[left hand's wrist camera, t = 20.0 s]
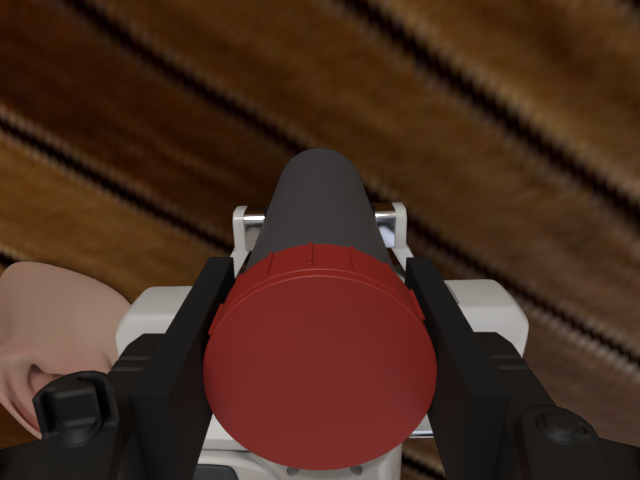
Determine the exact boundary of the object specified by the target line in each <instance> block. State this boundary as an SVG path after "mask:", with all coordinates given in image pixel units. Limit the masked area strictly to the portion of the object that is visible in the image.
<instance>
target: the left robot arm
mask: <svg viewBox="0 0 640 480" xmlns="http://www.w3.org/2000/svg"><path fill="white" fill-rule="evenodd" d="M404 283H405V285H406V286H407V288H408V289H409V290H411V289H412V290H413V292H414V294H415V296H416V298H417V301H418V303H419V306H420V308H421V310H422V313H423V315H424V317H425V319H424V320H423V322H424V324H425V327H426V329H427V332H428V334H429V336H430V339H431V341H432V344H433V348H434V351H435V354H436V361H437V377H436V386H435V394H434V397H433V400H432V403H431V406H430V408H429V410H428V412H427V416H428V419H429V423H430V426H431V429H432V432H433V435H434V439H435V442H436V445H437V448H438V452H439V455H440V458H441V461H442V464H443V468H444V471H445V474H446V477H447V480H640V447H636V446H632V445H628V444H623V443H619V442H614V441H610V440H607V439H603V438H600V437H598V435H597V433H596V432H595V430H594V429H593V427H592V426H591V425H590V424H589V423H588V422H587V421H585V420H584V419H583V418H582V417H581V416H579V415H577V414H575V413H573V412H571V411H569V410H567V409H564V408H561V407H557V406H556V405H555V403H554V402H553V400H552V399H551V398H550V396H549V395H548V393H547V392H546V390H545V389H544V388H543V386H542V385H541V383H540V382H539V381H538V379H537V378H536V376H535V375H534V373H533V372H532V371H531V370H529V366H528V365H527V364H526V362H525V361H524V359H522V358H521V355H520V354H519V352H518V351H517V349H516V348H515V347H514V345H513V344H512V343H511V342H510V341H508V340H507V339H506V338H504V337H503V336H501V335H500V334H499V333H497V332H474V331H473V329H472V328H471V326H470V324H469V322H468V321H467V319H466V317H465V316H464V314H463V312H462V311H461V309H460V307H459V306H458V304H457V302H456V300H455V299H454V297H453V295H452V294H451V292H450V290H449V289H448V287H447V285H446V284H445V282H444V280H443V278H442V277H441V275H440V273H439V272H438V270H437V268H436V267H435V265H434V263H433V261H432V260H431V258H430V257H406V268H405V282H404ZM234 284H235V272H234V258H233V257H210V258H209V259H208V261H207V263H206V264H205V266H204V268H203V269H202V271H201V273H200V275H199V276H198V278H197V280H196V281H195V283H194V285H193V286H192V288H191V290H190V292H189V293H188V295H187V297H186V298H185V300H184V302H183V303H182V305H181V307H180V308H179V310H178V312H177V314H176V315H175V317H174V319H173V320H172V322H171V324H170V325H169V327H168V329H167V330H166V332H165V333H143V334H142V335H141V336H139V337H138V338H136V339H135V340H134V341H132V342H131V343H129V344H128V345H127V346H126V348H125V349H124V351H123V352H122V354H121V355H120V356H119V360H117V361H116V362H115V364H114V365H113V366H112V368H111V371H109V372H108V374H106V373H104V372H99V371H95V370H90V371H78V372H74V373H71V374H67V375H64V376H62V377H59V378H57V379H55V380H53V381H51V382H49V383H48V384H47V385H45V386H44V387H43V388H41V389H40V390H39V391H38V392H37V393H36V395H35V396H34V397H33V399H32V403H33V406H34V410H35V414H36V417H37V421H38V424H39V428H40V432H41V435H42V437H41V439H39V440H36V441H33V442H29V443H25V444H21V445H16V446H12V447H8V448H3V449H0V480H193V476H194V473H195V470H196V467H197V464H198V460H199V457H200V454H201V451H202V447H203V444H204V441H205V438H206V435H207V431H208V428H209V425H210V422H211V419H212V415H213V412H212V410H211V409H210V406H209V403H208V401H207V398H206V395H205V389H204V380H203V358H204V354H205V350H206V346H207V343H208V341H209V339H210V336H211V335H208V332H209V329H210V327H211V325H212V322H213V320H214V318H215V315H216V313H217V311H218V308H219V306H220V304H221V303H222V304H224V302H225V300H226V298H227V296H228V294H229V292H230V291H231V289H232V287H233V286H234Z"/></svg>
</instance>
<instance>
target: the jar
mask: <svg viewBox="0 0 640 480" xmlns="http://www.w3.org/2000/svg"><path fill="white" fill-rule="evenodd" d="M309 242H313V244H332V245H338V246H344V247H348V248H349V247H350V246H354V249H355V250H359V251H361V252H363V253H366V254H368V255H370V256H372V257H374V258H376V259H377V260H379V261H381V262H382V263H384V264H385V263H386V262H387V263H388V264H389V265H390V268H391V270H393V271H394V272H395V270H394V267H393V264H392V262H391V259H390V256H389V254H388V251H387V248H386V246H385V243H384V240H383V238H382V235H381V232H380V230H379V227H378V224H377V222H376V219H375V216H374V214H373V211H372V208H371V206H370V203H369V200H368V198H367V195H366V192H365V190H364V187H363V184H362V182H361V179H360V176H359V174H358V172H357V170H356V168H355V166H354V165H353V164H352V162H351V161H350V160H349V159H348V158H346V157H345V156H344V155H342V154H340V153H338V152H336V151H334V150H330V149H324V148H315V149H310V150H306V151H304V152H301V153H299V154H298V155H296V156H295V157H294V158H292V159H291V160H290V161H289V162H288V163H287V165H286V166H285V168H284V169H283V171H282V174H281V176H280V179H279V182H278V184H277V187H276V189H275V192H274V195H273V197H272V200H271V203H270V205H269V208H268V211H267V213H266V216H265V219H264V221H263V224H262V227H261V229H260V232H259V235H258V237H257V240H256V243H255V245H254V248H253V251H252V253H251V256H250V259H249V261H248V264H247V267H246V269H245V272H246V271H247V270H249V269H250V268H251V267H252V266H253V265H255V264H256V263H258V262H259V261H261V260H262V259H264V258H266V257H268V255H269V253H270V252H273V253H276V252H279V251H282V250H285V249H288V248H291V247H296V246H301V245H308V243H309ZM245 272H244V273H245ZM395 273H396V272H395Z"/></svg>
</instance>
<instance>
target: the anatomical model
mask: <svg viewBox="0 0 640 480" xmlns="http://www.w3.org/2000/svg"><path fill="white" fill-rule="evenodd" d="M130 306H131V304H130V303H129V302H128V301H127V300H126V299H125V298H124V297H123V296H122V295H121V294H119V293H118V292H117V291H115V290H114V289H112V288H111V287H109V286H107V285H105V284H103V283H101V282H99V281H98V280H96V279H93V278H91V277H88V276H86V275H83V274H80V273H77V272H74V271H71V270H68V269H65V268H61V267H57V266H53V265H49V264H44V263H39V262H30V261H25V262H17V263H14V264H12V265H10V266H9V267H8V268H7V269H6V270H5V271H4V272H3V274H2V276H1V277H0V403H1V404H2V405H3V406H4V407H5V408H6V409H7V410H8V411H9V412H10V413H11V414H12V415H13V416H14V418H15V419H16V420H17V421H19V422H20V423H21V424H22V425H23V426H24V427H25V428H26V429H27V430H28V431H29V432H31V433H32V434H33V435H34V436H36V437H37V438H39V439H41V437H42V435H41V432H40V428H39V424H38V421H37V417H36V414H35V410H34V406H33V403H32V399H33V397H34V396H35V395H36V393H37V392H38V391H39V390H40V389H41V388H43V387H44V386H45V385H47V384H48V383H49V382H51V381H53V380H55V379H57V378H59V377H62V376H64V375H67V374H71V373H74V372H78V371H90V370H95V371H99V372H104V373H106V374H108V372H109V371H111V368H112V366H113V365H114V364H115V362H116V361H117V360H119V358H118V353H117V348H116V341H115V334H116V329H117V326H118V324H119V322H120V320H121V319H122V317H123V316H124V314H125V313H126V311H127V310H128V308H129V307H130Z"/></svg>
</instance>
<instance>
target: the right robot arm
mask: <svg viewBox="0 0 640 480" xmlns="http://www.w3.org/2000/svg"><path fill="white" fill-rule="evenodd" d="M371 208H372V211H373V214H374V216H375V219H376V222H377V224H378V227H379V230H380V232H381V235H382V238H383V240H384V243H385V246H386V248H392V250H393V252H394V253H395V255H396V257H397V259H398V260H399V262H400V264H401V265H394V266H393V267H394V270H395V272H396V274H397V275H398V276H399V278H400V279H401V280H402V281H403V282H405V268H406V257H414V255H413V253H412V252H411V250H410V248H409V246H408V245H407V243H406V226H407V214H406V208H405V207H404V205H403V204H402V202H397V203H372V204H371ZM267 211H268V206H237V208H236V209H235V211H234V213H233V231H234V242H235V248H234V250H233V252H232V254H231V256H230V257H233V258H234V272H235V282H236V279H237V277H238V275H239V274H240V273H241V274H242V275H243V274H244V272H245V269H246V268H242V269H240V268H241V267H242V265H243V263H244V261H245V259H246V257H247V255H248V253H249V251H253V248H254V245H255V243H256V240H257V237H258V235H259V232H260V229H261V227H262V224H263V221H264V219H265V216H266V213H267ZM444 282H445V284H446V285H447V287H448V289H449V290H450V292H451V294H452V295H453V297H454V299H455V300H456V302H457V304H458V306H459V307H460V309H461V311H462V312H463V314H464V316H465V317H466V319H467V321H468V322H469V324H470V326H471V328H472V329H473V331H474V332H497V333H499V334H500V335H501V336H503V337H504V338H506V339H507V340H508V341H510V342H511V343H512V344H513V345H514V347H515V348H516V349H517V351H518V352H519V354H520V355H521V358H522V357H523V353H524V349H525V345H526V341H527V336H528V329H529V324H528V320H527V317H526V315H525V313H524V312H523V310H522V309H521V307H520V306H519V305H518V303H517V302H516V301H515V299H514V298H513V297H512V296H511V295H510V294H509V293H508V292H507V291H506V290H505V289H504V288H503V287H502V286H501V285H500V284H499V283H498V282H496V281H494V280H487V279H484V280H444ZM191 288H192V286H167V287H150V288H148V289H146V290H145V291H144V292H143V293H142V294H141V295H140V296H139V297H138V298H137V299H136V300H135V301H134V303H133V304H132V305H131V306H130V307H129V308H128V310H127V311H126V313H125V314H124V316H123V317H122V319H121V320H120V322H119V324H118V326H117V329H116V334H115V341H116V348H117V353H118V358H119V356H120V355H121V354H122V352H123V351H124V349H125V348H126V346H127V345H128V344H129V343H131V342H132V341H134V340H135V339H136V338H138V337H139V336H141V335H142V334H143V333H165V332H166V330H167V329H168V327H169V325H170V324H171V322H172V320H173V319H174V317H175V315H176V314H177V312H178V310H179V308H180V307H181V305H182V303H183V302H184V300H185V298H186V297H187V295H188V293H189V292H190V290H191ZM427 438H434V435H433V432H432V429H431V426H430V423H429V419H428V416H427V414H426V416H425V417H424V419H423V420H422V422H421V423H420V424H419V426H418V427H417V428H416V429H415V431H414V432H413V433H412V434H411V435H410V436H409V437H408V439H427ZM401 457H402V443H401V444H400V445H398V446H397V447H395V448H394V449H392V450H391V451H389V452H388V453H386V454H384V455H382V456H380V457H378V458H376V459H374V460H371V461H369V462H366V463H364V464H360V465H356V466H353V467H349V468H343V469H337V470H304V469H297V468H291V467H287V466H283V465H279V464H277V463H274V462H271V461H268V460H266V459H264V458H262V457H260V456H257V455H255V454H254V453H252V452H250V451H249V450H247V449H246V448H244V447H243V446H242V445H240V444H239V443H238V442H236V441H235V440H234V439H233V438H232V437H231V436H230V435H229V434H228V433H227V432H226V431H225V430H224V429H223V427H222V426H221V425H220V423H219V422H218V421H217V419H216V418H215V416H214V414H213V415H212V419H211V422H210V425H209V428H208V431H207V435H206V438H205V441H204V444H203V447H202V451H201V454H200V457H199V460H198V464H197V467H196V470H195V473H194V476H193V480H400V474H401Z"/></svg>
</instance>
